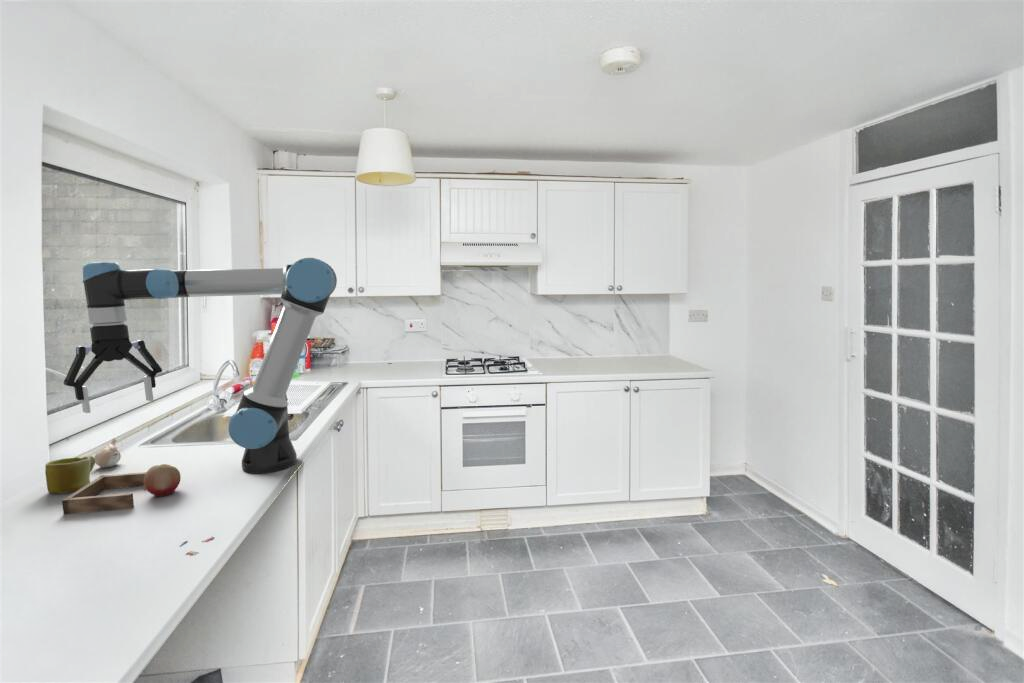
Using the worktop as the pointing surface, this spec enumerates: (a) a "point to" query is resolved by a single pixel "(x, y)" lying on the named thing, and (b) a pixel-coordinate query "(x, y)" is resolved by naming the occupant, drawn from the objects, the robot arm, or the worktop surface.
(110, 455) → the garlic bulb
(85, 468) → the mug
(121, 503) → the wooden frame
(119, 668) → the worktop surface
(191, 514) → the worktop surface
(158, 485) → the fruit
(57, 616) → the worktop surface
